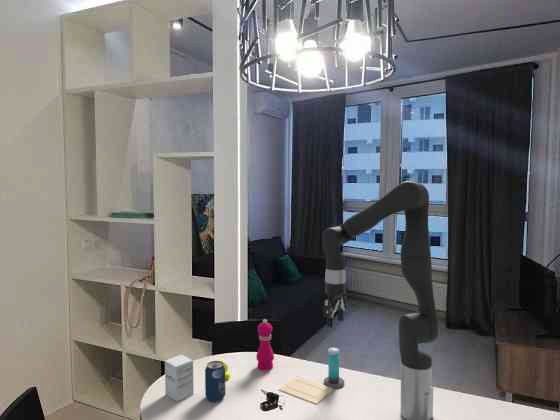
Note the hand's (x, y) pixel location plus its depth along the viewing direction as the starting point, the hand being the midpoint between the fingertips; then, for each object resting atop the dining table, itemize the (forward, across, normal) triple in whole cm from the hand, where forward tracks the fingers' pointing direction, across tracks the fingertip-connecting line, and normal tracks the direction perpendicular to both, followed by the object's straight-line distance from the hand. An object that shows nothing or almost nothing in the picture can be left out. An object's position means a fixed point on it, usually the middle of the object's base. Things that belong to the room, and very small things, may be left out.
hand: (335, 323), depth 143 cm
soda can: (+23, -33, +30) cm, 50 cm away
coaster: (+23, 0, 0) cm, 23 cm away
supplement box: (+23, -39, +42) cm, 62 cm away
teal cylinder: (+22, 0, 0) cm, 22 cm away
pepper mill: (+23, -5, +29) cm, 37 cm away
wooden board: (+23, -10, +6) cm, 26 cm away
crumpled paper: (+23, -22, +39) cm, 50 cm away
